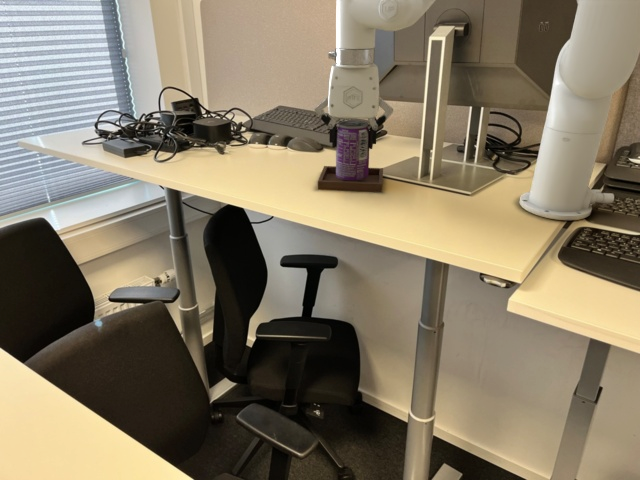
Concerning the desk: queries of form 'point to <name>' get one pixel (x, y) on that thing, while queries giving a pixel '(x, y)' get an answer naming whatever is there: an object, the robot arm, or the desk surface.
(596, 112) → the robot arm
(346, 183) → the tray
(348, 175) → the beverage can
